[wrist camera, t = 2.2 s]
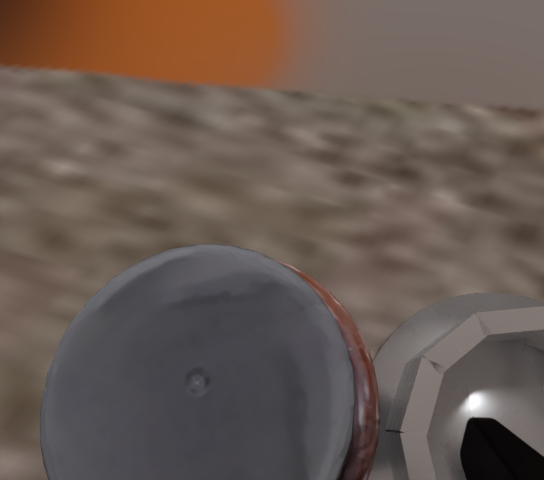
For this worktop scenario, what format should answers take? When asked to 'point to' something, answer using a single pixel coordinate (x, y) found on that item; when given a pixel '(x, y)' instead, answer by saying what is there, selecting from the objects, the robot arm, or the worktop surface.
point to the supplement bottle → (211, 376)
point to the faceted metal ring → (458, 382)
